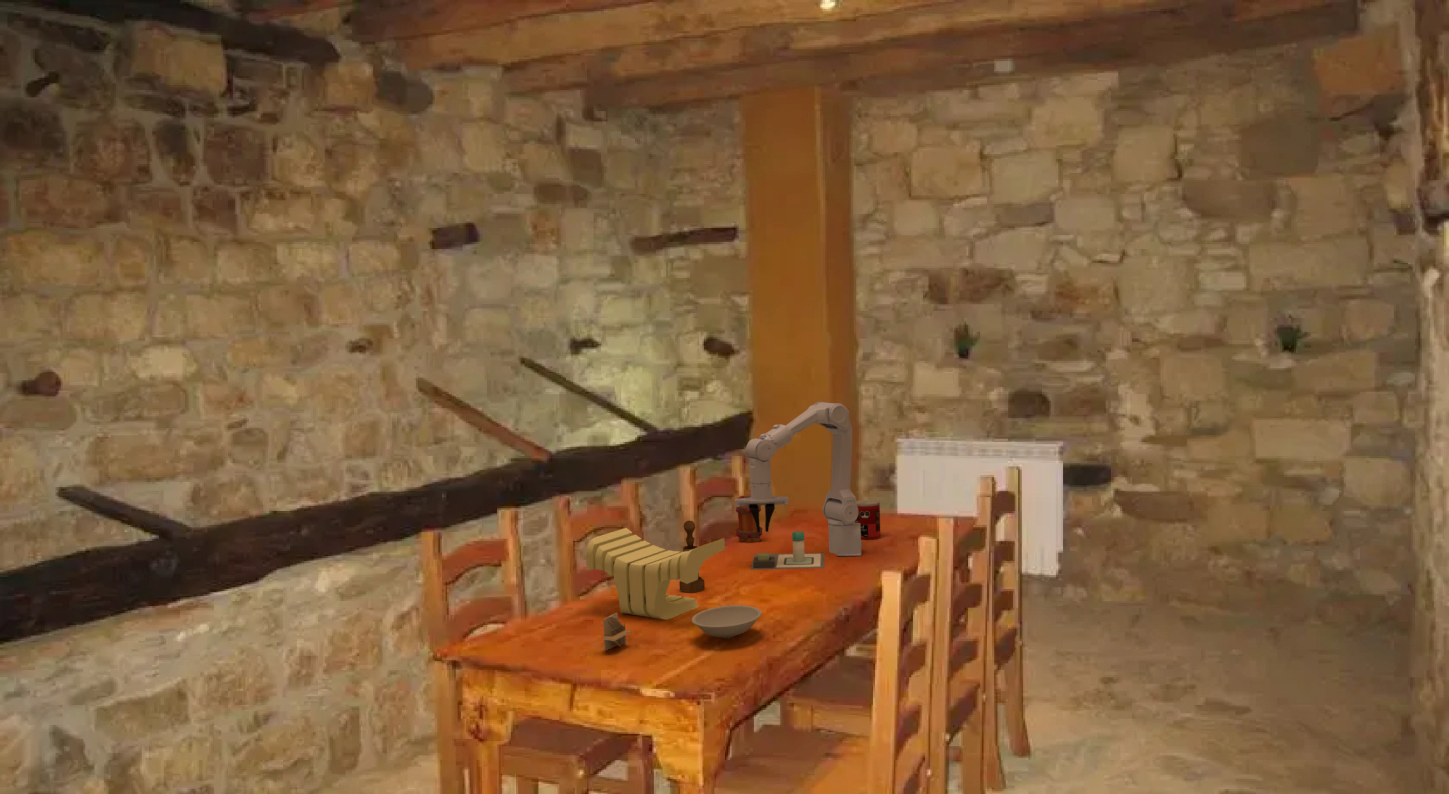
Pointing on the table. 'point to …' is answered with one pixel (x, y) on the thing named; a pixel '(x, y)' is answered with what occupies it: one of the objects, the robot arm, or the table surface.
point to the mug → (747, 523)
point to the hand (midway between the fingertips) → (762, 531)
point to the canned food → (869, 519)
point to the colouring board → (789, 562)
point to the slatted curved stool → (647, 572)
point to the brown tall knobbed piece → (689, 528)
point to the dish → (726, 620)
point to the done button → (763, 557)
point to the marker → (798, 546)
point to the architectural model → (614, 632)
